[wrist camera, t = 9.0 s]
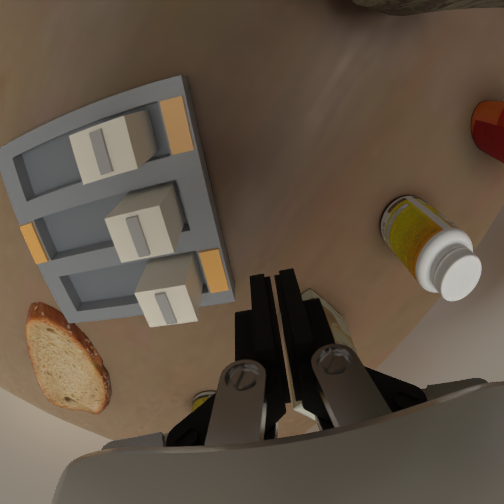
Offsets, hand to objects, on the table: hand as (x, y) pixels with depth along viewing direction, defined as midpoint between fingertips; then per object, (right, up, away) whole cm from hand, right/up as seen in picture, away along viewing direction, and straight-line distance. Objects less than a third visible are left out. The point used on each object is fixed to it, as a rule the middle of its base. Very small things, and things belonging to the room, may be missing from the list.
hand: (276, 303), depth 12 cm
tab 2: (-8, +1, +15) cm, 17 cm away
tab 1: (-9, +6, +12) cm, 16 cm away
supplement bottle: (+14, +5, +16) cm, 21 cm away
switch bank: (-13, +6, +14) cm, 20 cm away
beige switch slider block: (-10, +11, +10) cm, 18 cm away
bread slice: (-27, -13, +24) cm, 38 cm away
